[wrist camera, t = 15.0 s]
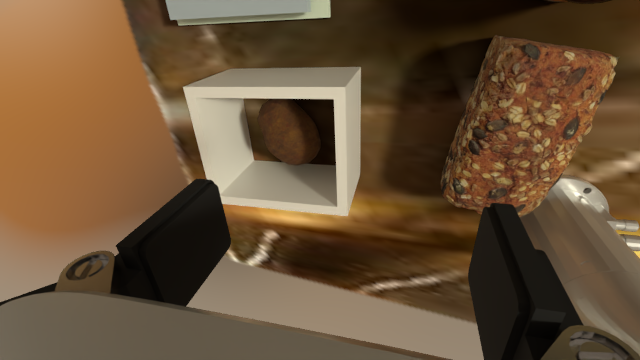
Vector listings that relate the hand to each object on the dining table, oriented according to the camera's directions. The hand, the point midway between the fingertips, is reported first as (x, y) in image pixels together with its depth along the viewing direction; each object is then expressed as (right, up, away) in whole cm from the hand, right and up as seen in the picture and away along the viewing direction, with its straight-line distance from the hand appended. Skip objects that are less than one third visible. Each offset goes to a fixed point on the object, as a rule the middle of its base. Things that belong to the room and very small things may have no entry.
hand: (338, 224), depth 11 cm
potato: (-4, +10, +35) cm, 37 cm away
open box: (-4, +10, +35) cm, 37 cm away
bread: (+22, +9, +28) cm, 37 cm away
